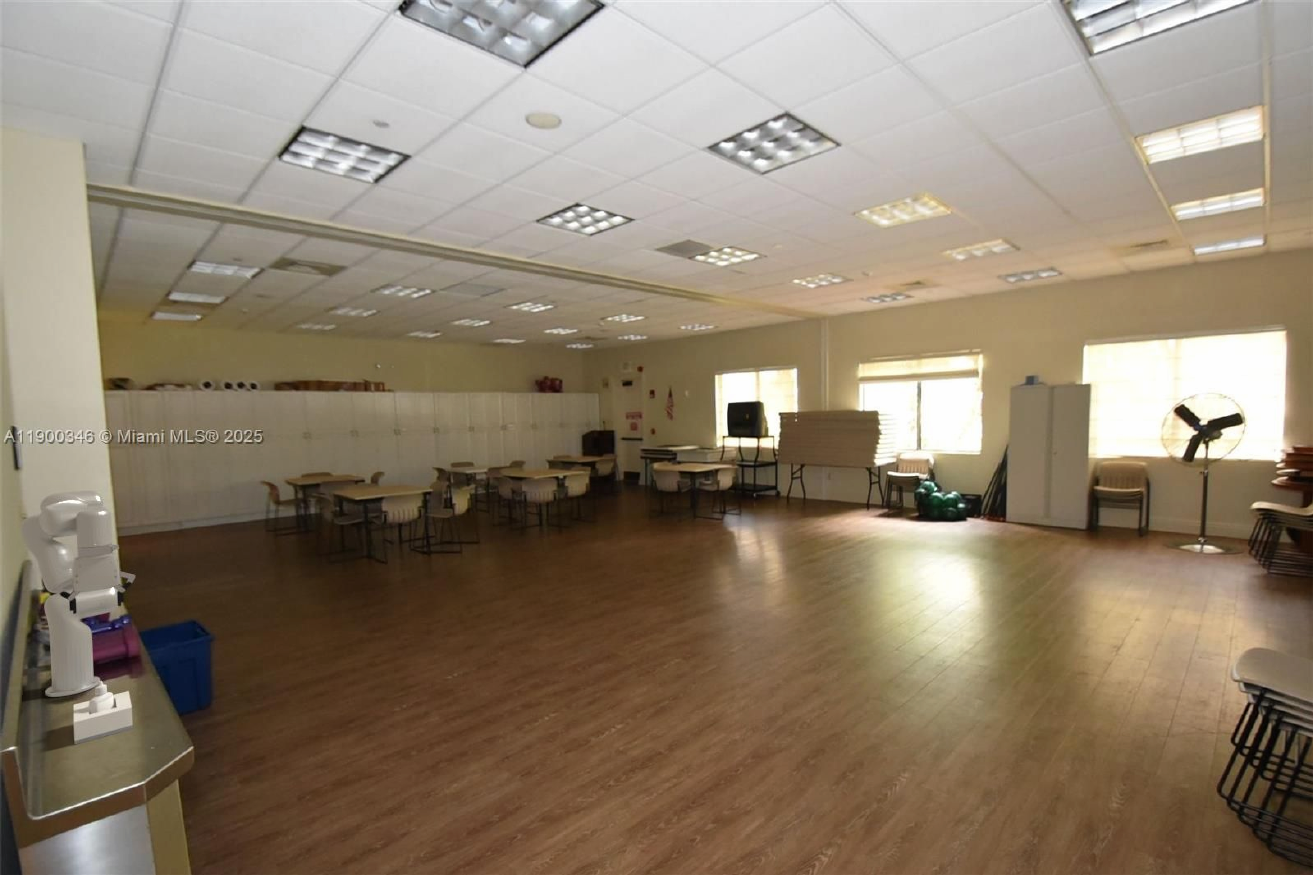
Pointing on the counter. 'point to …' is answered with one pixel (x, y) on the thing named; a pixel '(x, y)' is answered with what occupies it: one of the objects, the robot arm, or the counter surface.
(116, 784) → the counter surface
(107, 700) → the eye dropper bottle
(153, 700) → the counter surface
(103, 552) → the robot arm
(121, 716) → the keyed holder
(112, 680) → the counter surface
